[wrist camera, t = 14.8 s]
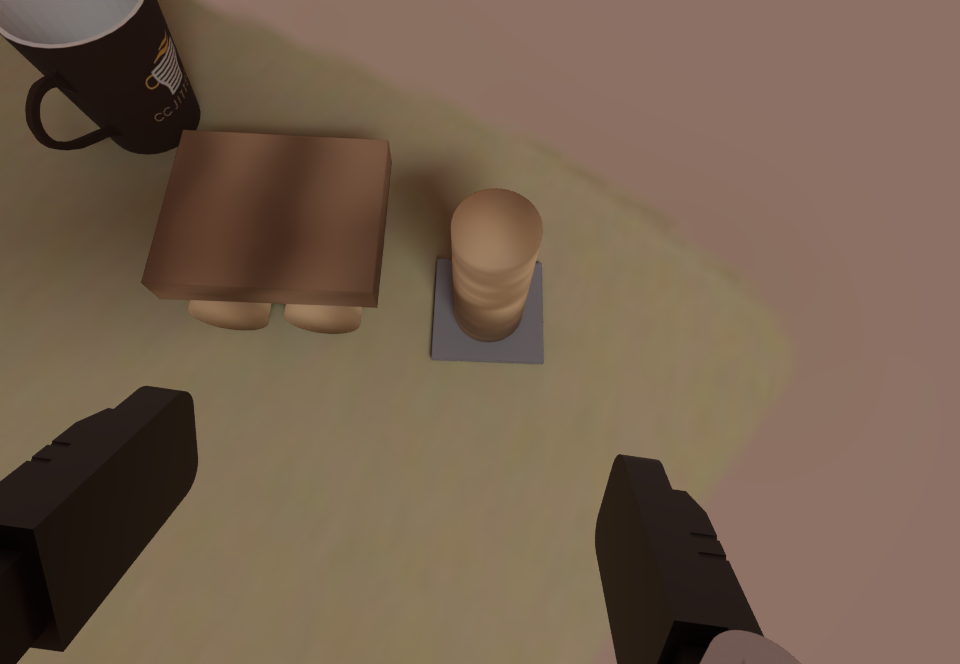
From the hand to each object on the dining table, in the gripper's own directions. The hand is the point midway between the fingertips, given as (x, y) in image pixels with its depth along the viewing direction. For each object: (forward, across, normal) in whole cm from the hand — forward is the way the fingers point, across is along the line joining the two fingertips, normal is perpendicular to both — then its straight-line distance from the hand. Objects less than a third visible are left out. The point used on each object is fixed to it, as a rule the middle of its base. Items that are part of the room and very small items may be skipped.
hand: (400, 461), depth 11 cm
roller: (+25, -2, +6) cm, 26 cm away
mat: (+25, -2, +7) cm, 26 cm away
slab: (+27, +11, +6) cm, 29 cm away
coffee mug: (+33, +25, 0) cm, 41 cm away
